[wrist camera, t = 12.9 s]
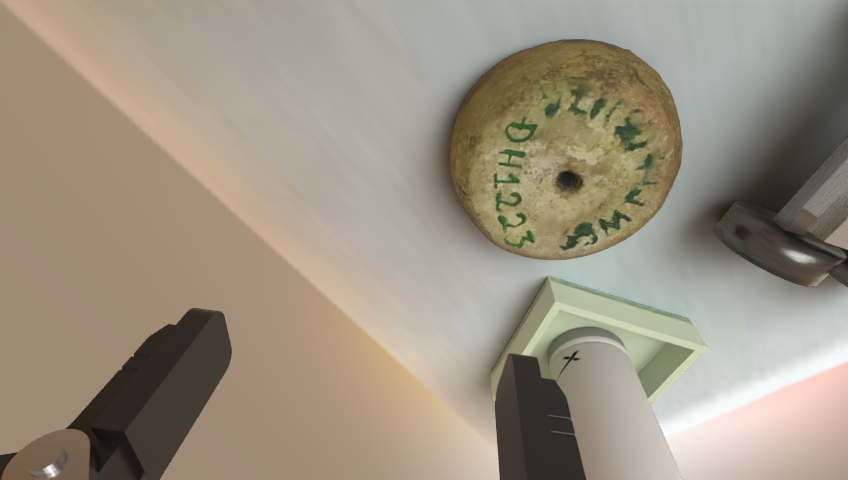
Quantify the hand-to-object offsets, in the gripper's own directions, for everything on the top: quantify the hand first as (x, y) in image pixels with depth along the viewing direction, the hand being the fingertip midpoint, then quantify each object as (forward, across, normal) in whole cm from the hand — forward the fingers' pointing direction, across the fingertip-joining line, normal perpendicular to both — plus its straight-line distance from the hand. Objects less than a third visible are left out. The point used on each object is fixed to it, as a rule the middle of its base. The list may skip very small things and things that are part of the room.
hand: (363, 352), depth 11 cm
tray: (+18, -16, +16) cm, 29 cm away
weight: (+18, -9, 0) cm, 20 cm away
